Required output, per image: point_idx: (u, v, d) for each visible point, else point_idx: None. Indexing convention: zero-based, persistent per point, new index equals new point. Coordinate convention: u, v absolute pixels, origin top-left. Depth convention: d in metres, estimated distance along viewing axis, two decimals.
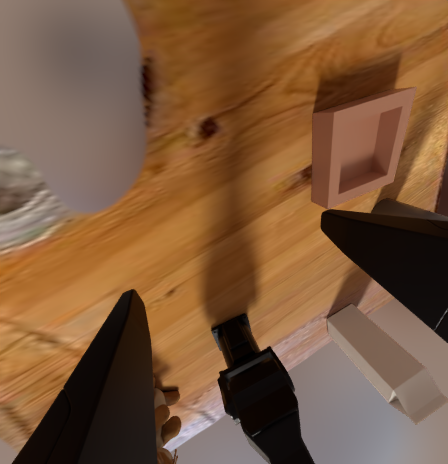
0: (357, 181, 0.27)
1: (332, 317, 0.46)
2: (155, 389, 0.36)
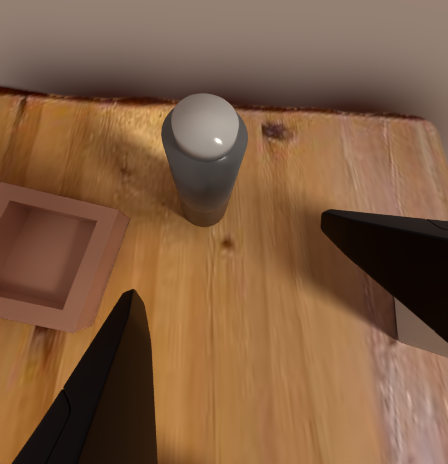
0: None
1: (400, 330, 0.22)
2: None
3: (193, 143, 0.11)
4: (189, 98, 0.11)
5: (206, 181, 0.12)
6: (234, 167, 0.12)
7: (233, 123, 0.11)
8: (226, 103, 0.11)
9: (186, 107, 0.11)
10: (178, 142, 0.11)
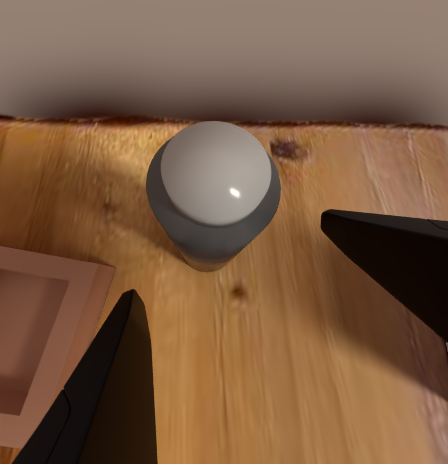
0: None
1: None
2: None
3: (199, 206, 0.06)
4: (189, 130, 0.07)
5: (219, 252, 0.08)
6: None
7: (262, 167, 0.07)
8: (248, 135, 0.07)
9: (185, 145, 0.07)
10: (174, 203, 0.07)
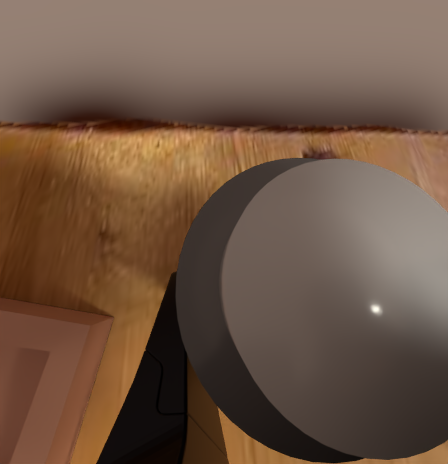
0: None
1: None
2: None
3: (341, 418, 0.02)
4: (285, 184, 0.03)
5: None
6: None
7: None
8: (415, 192, 0.03)
9: (279, 225, 0.03)
10: None
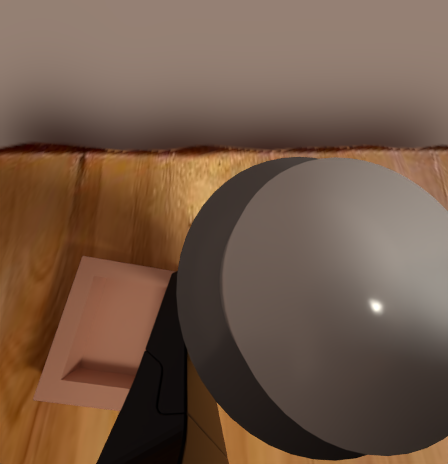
0: None
1: None
2: None
3: (341, 415, 0.02)
4: (285, 182, 0.03)
5: None
6: None
7: None
8: (415, 191, 0.03)
9: (280, 223, 0.03)
10: None
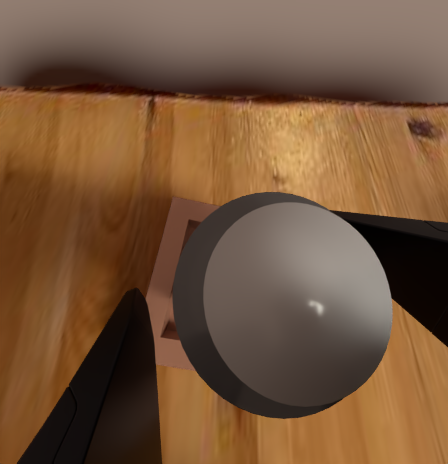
0: None
1: None
2: None
3: (276, 381, 0.03)
4: (247, 222, 0.04)
5: None
6: None
7: (375, 289, 0.04)
8: (344, 226, 0.04)
9: (242, 252, 0.04)
10: None
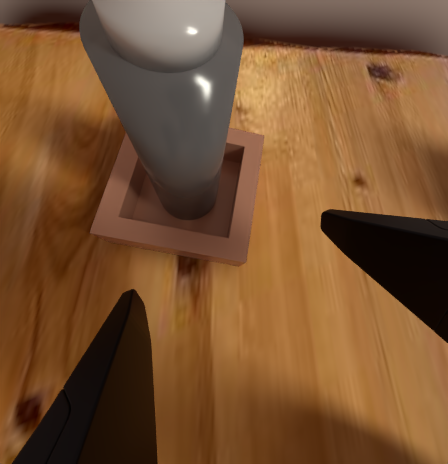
0: (235, 192, 0.17)
1: None
2: None
3: (132, 17, 0.05)
4: None
5: (172, 119, 0.07)
6: (221, 90, 0.07)
7: None
8: None
9: None
10: (105, 26, 0.05)
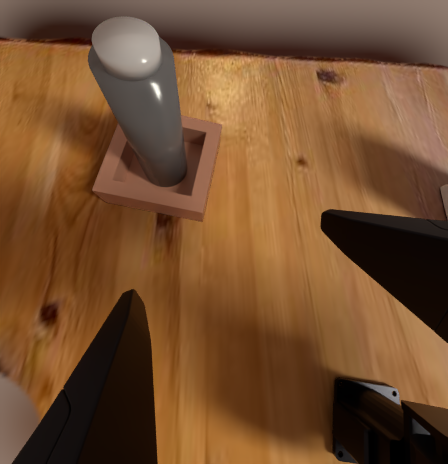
0: None
1: None
2: None
3: (112, 57, 0.11)
4: (111, 20, 0.12)
5: (136, 105, 0.13)
6: (161, 90, 0.13)
7: (153, 41, 0.12)
8: (148, 25, 0.12)
9: (108, 27, 0.12)
10: (100, 59, 0.11)
